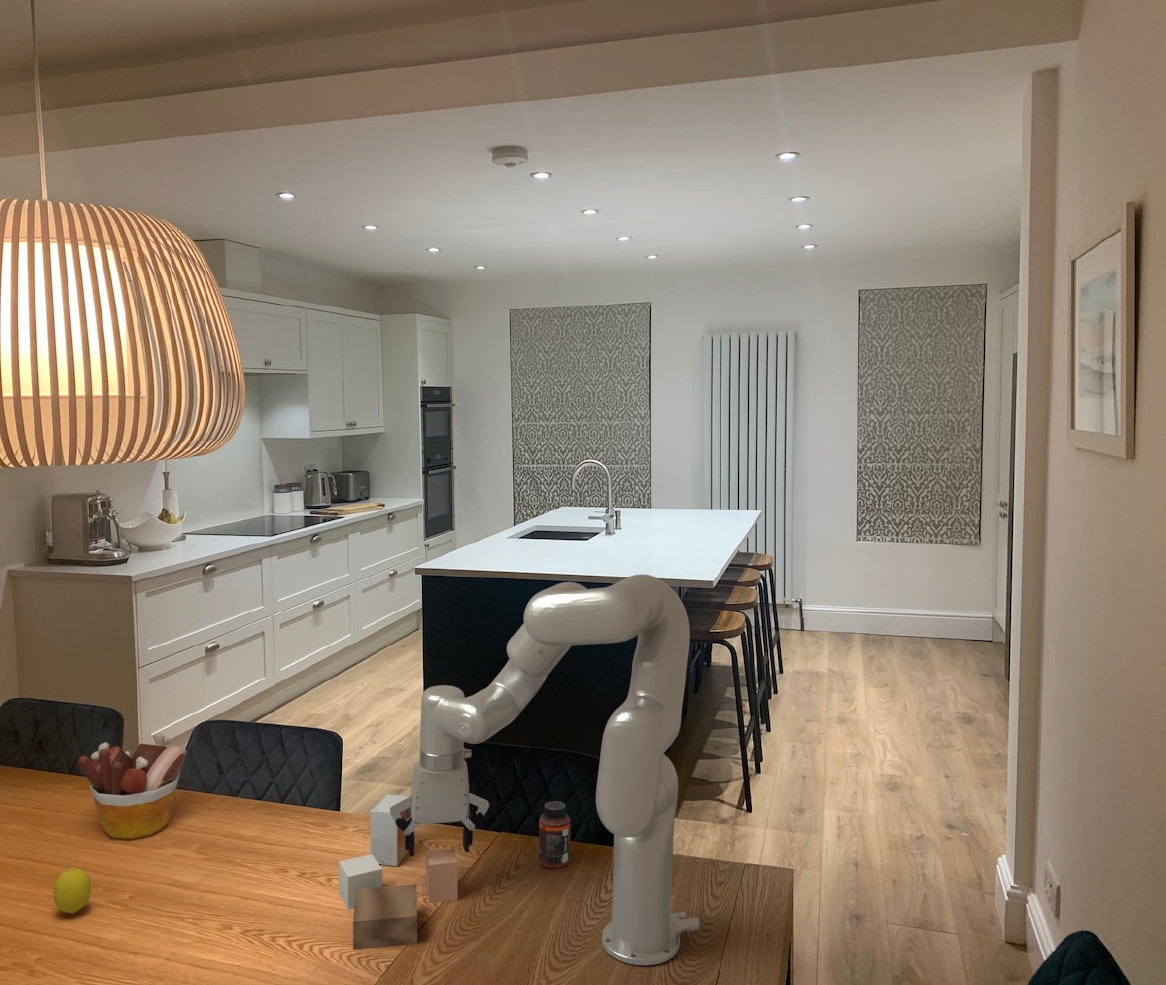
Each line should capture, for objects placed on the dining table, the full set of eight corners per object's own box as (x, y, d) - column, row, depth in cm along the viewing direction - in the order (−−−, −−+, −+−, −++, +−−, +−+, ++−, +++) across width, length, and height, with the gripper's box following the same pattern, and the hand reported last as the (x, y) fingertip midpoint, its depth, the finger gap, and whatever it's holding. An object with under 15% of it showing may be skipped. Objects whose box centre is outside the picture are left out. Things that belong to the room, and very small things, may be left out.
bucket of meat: (133, 804, 195) (131, 714, 194) (201, 812, 192) (200, 721, 190) (62, 847, 176) (58, 747, 174) (136, 857, 172) (133, 756, 171)
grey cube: (372, 885, 164) (372, 853, 164) (382, 901, 159) (382, 868, 158) (339, 893, 161) (338, 861, 161) (347, 910, 156) (347, 876, 155)
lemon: (57, 907, 155) (55, 862, 154) (94, 902, 157) (92, 857, 156) (51, 925, 150) (49, 878, 149) (89, 919, 152) (87, 873, 151)
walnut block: (416, 911, 156) (416, 883, 156) (417, 945, 146) (417, 915, 146) (356, 917, 154) (356, 888, 154) (353, 951, 145) (352, 921, 144)
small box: (397, 867, 170) (397, 813, 170) (369, 864, 172) (369, 810, 171) (413, 847, 178) (413, 796, 177) (386, 844, 179) (386, 793, 178)
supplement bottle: (574, 866, 172) (575, 809, 171) (544, 872, 170) (545, 813, 169) (563, 852, 178) (564, 796, 177) (534, 857, 175) (535, 800, 174)
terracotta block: (454, 885, 165) (454, 848, 164) (457, 900, 160) (457, 861, 159) (426, 888, 163) (426, 851, 163) (428, 903, 158) (428, 864, 158)
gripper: (487, 746, 165) (484, 837, 167) (390, 752, 161) (387, 844, 163) (493, 763, 158) (490, 857, 160) (391, 768, 154) (389, 865, 155)
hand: (438, 850), depth 161 cm, fingers open, 9 cm apart
